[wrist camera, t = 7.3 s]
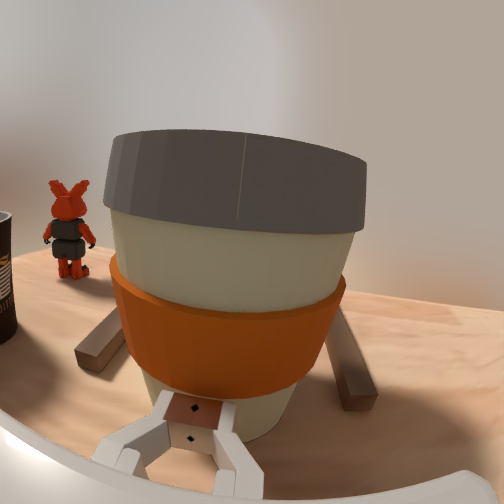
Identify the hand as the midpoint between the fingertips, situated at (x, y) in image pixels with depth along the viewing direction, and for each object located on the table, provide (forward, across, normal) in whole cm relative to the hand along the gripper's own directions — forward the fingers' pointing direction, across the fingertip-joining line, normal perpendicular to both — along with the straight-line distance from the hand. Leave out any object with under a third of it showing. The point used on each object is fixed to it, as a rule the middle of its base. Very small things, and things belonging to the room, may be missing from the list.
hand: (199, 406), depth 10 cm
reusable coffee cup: (+6, 0, +5) cm, 8 cm away
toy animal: (+21, +22, +5) cm, 31 cm away
